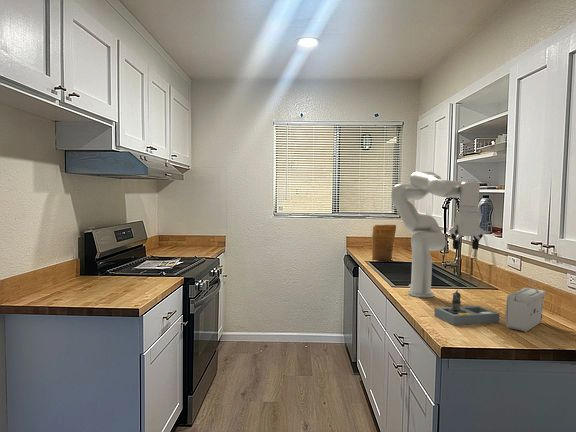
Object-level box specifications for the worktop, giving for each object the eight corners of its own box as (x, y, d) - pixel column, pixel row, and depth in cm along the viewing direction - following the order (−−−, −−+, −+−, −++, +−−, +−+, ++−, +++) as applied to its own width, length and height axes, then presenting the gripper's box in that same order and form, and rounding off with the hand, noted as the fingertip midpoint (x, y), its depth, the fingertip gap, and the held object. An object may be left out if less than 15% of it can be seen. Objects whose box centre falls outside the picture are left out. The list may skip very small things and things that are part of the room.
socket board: (434, 316, 167) (435, 306, 167) (477, 313, 173) (478, 304, 172) (453, 325, 156) (454, 315, 155) (499, 322, 161) (499, 312, 161)
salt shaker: (459, 317, 166) (460, 288, 165) (466, 322, 160) (467, 292, 160) (445, 317, 166) (446, 288, 165) (451, 321, 160) (452, 291, 159)
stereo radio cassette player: (522, 318, 168) (525, 270, 167) (544, 323, 162) (548, 273, 161) (503, 328, 154) (506, 275, 153) (527, 334, 148) (531, 279, 147)
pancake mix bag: (396, 261, 312) (397, 225, 310) (371, 261, 310) (373, 224, 309) (393, 260, 319) (394, 224, 317) (369, 259, 317) (370, 223, 315)
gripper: (479, 210, 182) (476, 247, 183) (445, 209, 178) (442, 247, 179) (491, 211, 175) (488, 250, 176) (456, 210, 171) (453, 250, 172)
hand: (465, 249), depth 178 cm, fingers open, 9 cm apart
